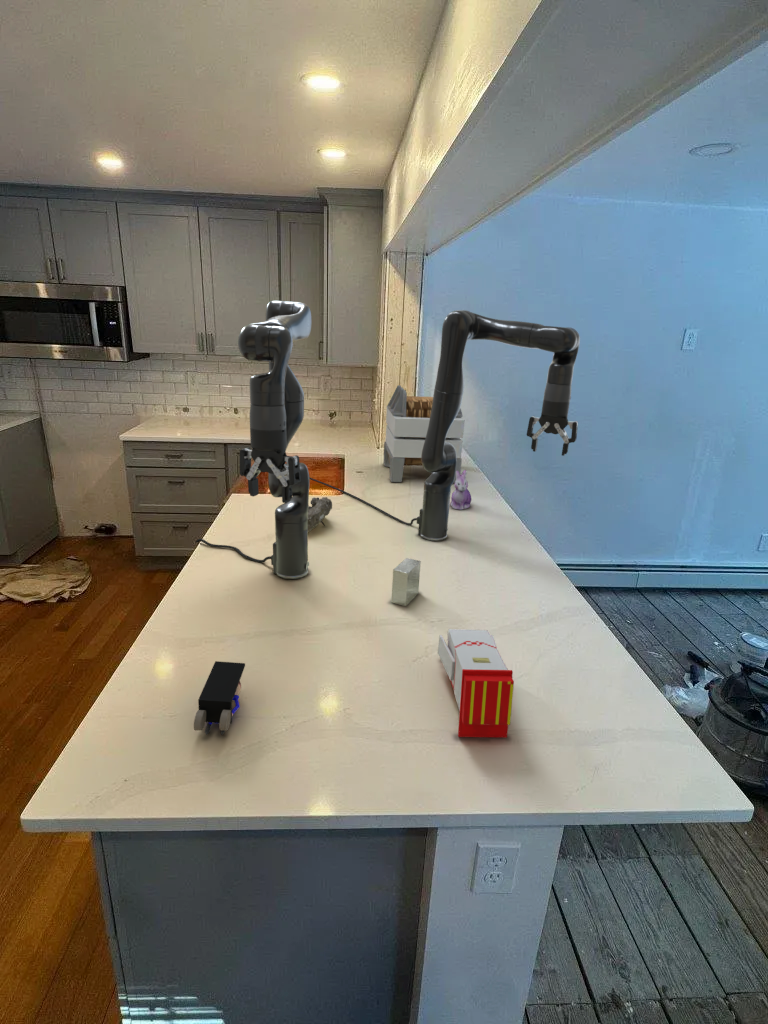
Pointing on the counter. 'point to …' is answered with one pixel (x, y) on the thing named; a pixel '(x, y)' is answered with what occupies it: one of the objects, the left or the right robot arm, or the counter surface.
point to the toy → (478, 682)
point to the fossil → (318, 511)
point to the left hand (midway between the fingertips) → (270, 498)
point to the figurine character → (219, 696)
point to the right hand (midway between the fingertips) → (548, 453)
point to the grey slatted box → (413, 432)
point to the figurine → (461, 492)
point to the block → (405, 581)
